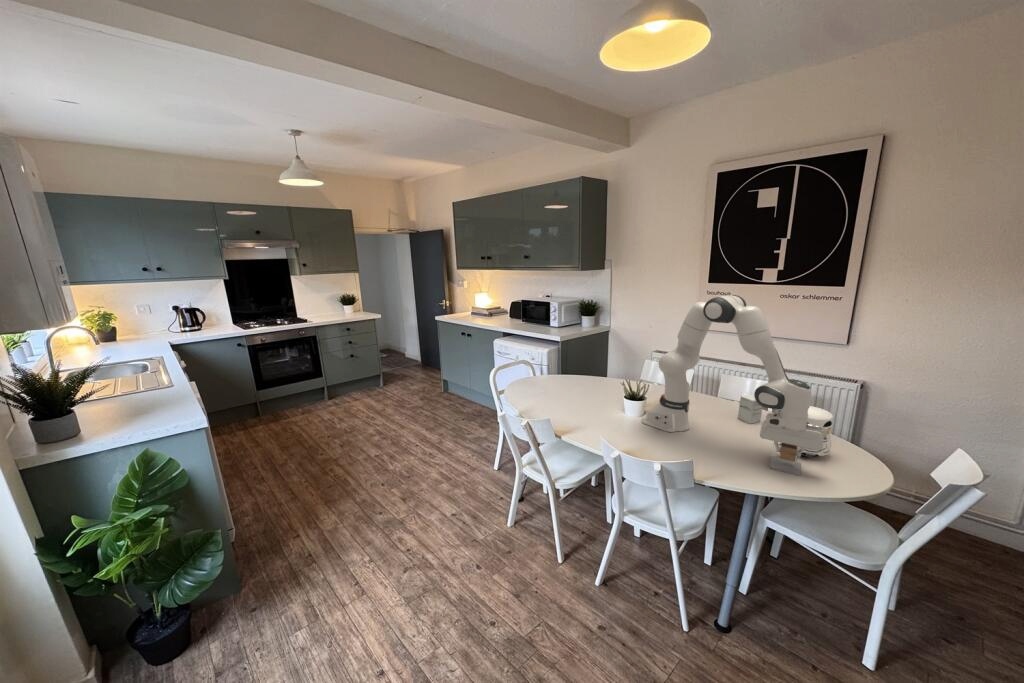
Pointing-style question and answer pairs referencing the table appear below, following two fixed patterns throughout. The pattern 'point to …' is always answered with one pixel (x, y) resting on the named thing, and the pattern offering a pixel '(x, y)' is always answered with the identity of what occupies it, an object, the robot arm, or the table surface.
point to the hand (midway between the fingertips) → (788, 453)
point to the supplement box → (749, 409)
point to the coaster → (785, 466)
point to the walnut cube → (788, 452)
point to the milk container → (825, 421)
